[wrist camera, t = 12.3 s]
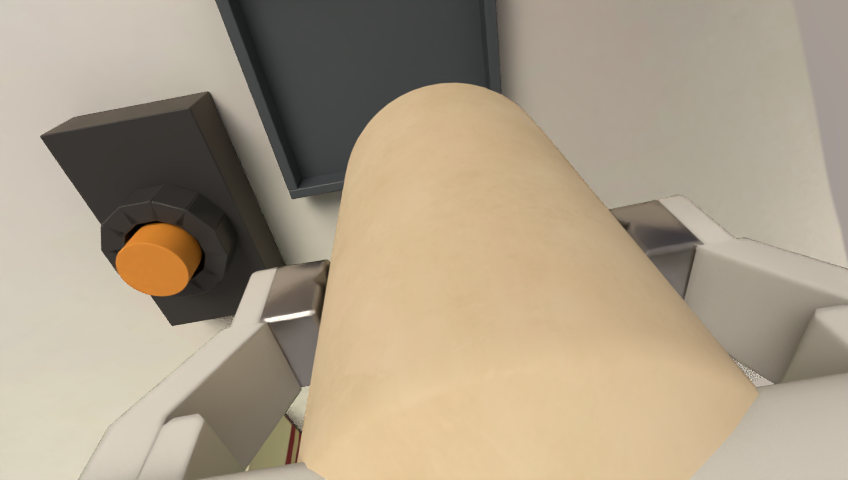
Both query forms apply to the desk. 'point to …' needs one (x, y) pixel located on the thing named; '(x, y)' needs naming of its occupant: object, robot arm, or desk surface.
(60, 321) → the desk surface
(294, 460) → the gift box
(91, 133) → the button base
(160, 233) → the orange button cap
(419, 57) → the soap tray
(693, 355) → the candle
